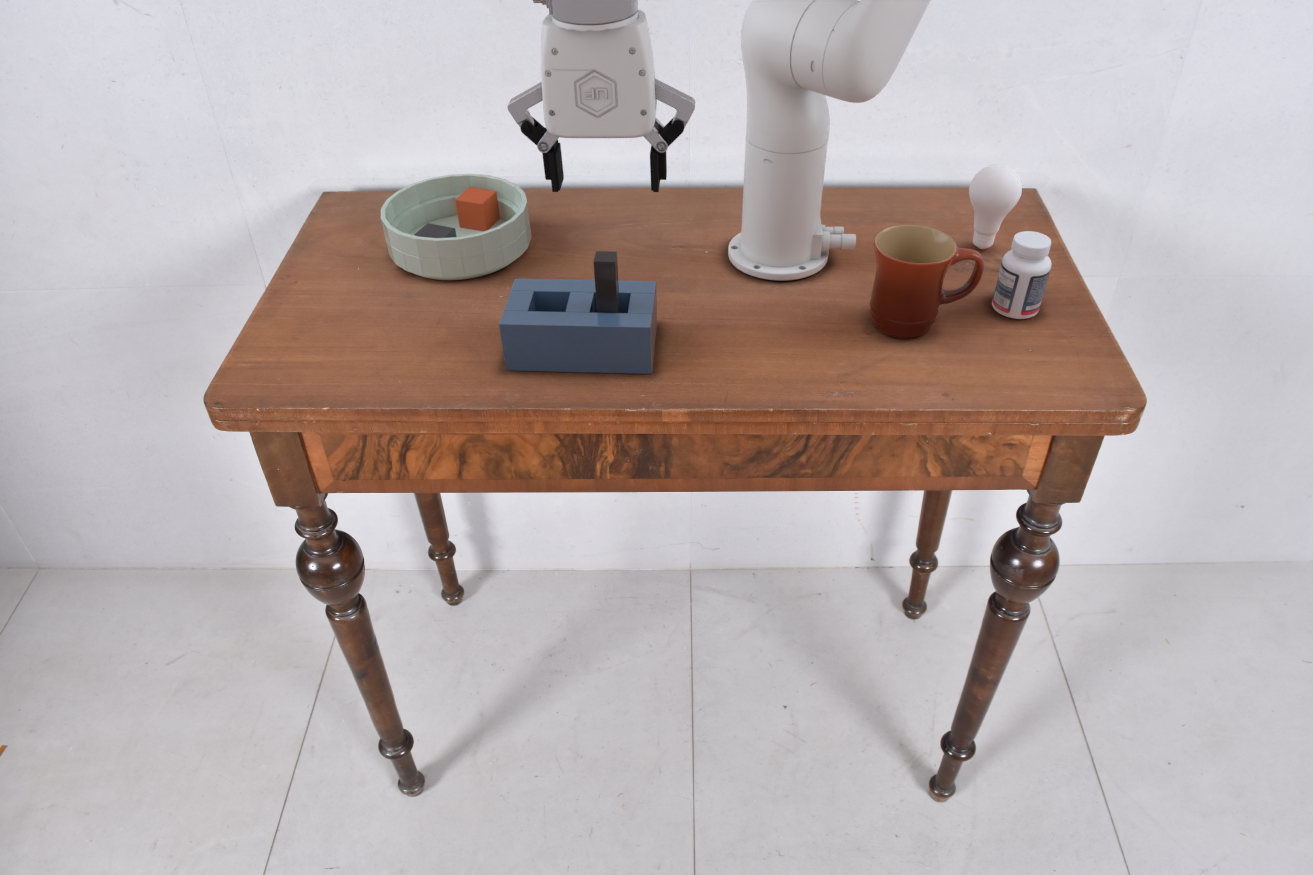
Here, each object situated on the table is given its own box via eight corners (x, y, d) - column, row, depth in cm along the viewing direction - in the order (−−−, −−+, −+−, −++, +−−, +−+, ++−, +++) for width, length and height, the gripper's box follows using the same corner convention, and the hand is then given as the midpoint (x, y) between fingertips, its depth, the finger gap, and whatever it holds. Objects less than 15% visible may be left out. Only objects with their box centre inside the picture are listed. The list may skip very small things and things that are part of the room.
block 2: (500, 218, 125) (496, 190, 122) (486, 232, 122) (482, 204, 120) (474, 214, 126) (469, 186, 123) (459, 227, 123) (454, 199, 121)
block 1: (460, 256, 117) (455, 228, 115) (443, 271, 115) (438, 242, 112) (433, 251, 118) (427, 222, 116) (416, 266, 116) (410, 237, 113)
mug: (864, 344, 102) (877, 262, 96) (858, 302, 109) (870, 222, 102) (975, 349, 101) (995, 267, 95) (963, 306, 108) (981, 226, 101)
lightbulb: (953, 255, 117) (971, 173, 110) (960, 233, 121) (977, 153, 114) (1003, 263, 115) (1024, 180, 108) (1008, 241, 119) (1029, 160, 112)
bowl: (541, 215, 127) (537, 174, 123) (517, 285, 113) (512, 241, 109) (411, 213, 128) (403, 172, 124) (372, 282, 114) (361, 239, 110)
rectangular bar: (621, 347, 103) (617, 251, 95) (620, 358, 101) (615, 262, 93) (602, 346, 103) (595, 250, 95) (600, 358, 101) (593, 261, 94)
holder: (520, 323, 107) (514, 278, 103) (657, 326, 106) (656, 280, 102) (505, 370, 100) (498, 324, 96) (651, 374, 99) (650, 327, 95)
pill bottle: (1039, 300, 109) (1059, 231, 103) (1037, 323, 105) (1058, 254, 99) (992, 292, 110) (1009, 225, 104) (989, 315, 106) (1007, 247, 101)
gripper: (485, 15, 77) (512, 204, 88) (693, 13, 76) (694, 204, 87) (502, -12, 83) (526, 169, 94) (696, -14, 81) (696, 169, 93)
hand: (606, 186), depth 91 cm, fingers open, 9 cm apart
